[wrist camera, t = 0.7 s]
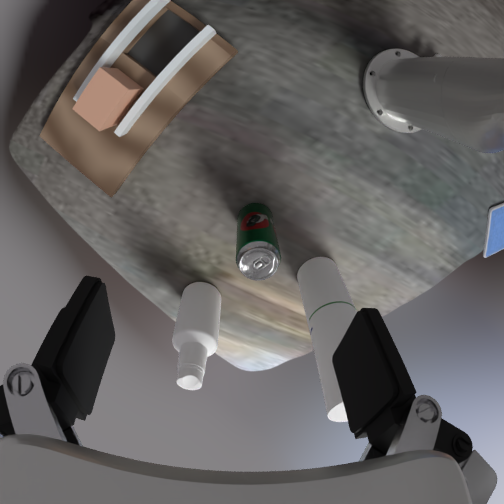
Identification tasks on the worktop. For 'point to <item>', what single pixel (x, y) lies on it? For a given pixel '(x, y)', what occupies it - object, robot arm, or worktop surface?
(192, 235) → the worktop surface
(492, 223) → the tablet computer
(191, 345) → the white bottle
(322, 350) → the cylindrical container
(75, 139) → the board
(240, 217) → the soda can
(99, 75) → the block
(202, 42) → the channel
